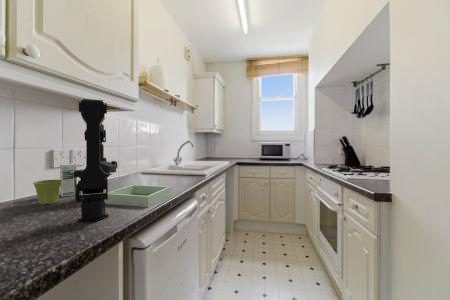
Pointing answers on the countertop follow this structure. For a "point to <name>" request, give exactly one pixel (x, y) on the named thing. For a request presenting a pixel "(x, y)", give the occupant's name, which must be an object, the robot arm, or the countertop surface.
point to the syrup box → (68, 179)
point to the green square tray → (126, 197)
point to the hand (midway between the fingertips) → (96, 190)
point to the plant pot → (47, 191)
